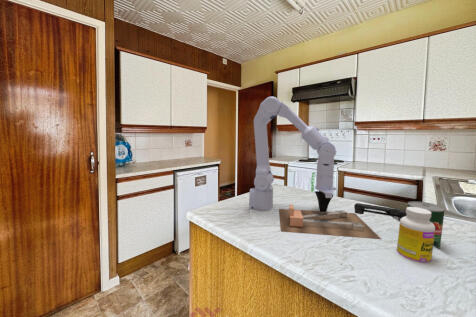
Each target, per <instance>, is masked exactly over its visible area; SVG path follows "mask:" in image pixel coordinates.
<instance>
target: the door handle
mask: <svg viewBox="0 0 476 317" xmlns="http://www.w3.org/2000/svg"><path fill="white" fill-rule="evenodd" d="M353 206H354V207H353V208H354V213H355V214H356V215H364V214H365V213H370V214H376V215H382V216H383V215H384V216H388V217H389V216H390V217H392V219H393V220H396V221H397V222H400V219H401V218H402V217H405V216H407V214H406V209H399V208H393V207H387V206H386V207H385V206H380V205H379V206H378V205H373V204H366V203H359V202H357V203H355V204H354V205H353Z"/></svg>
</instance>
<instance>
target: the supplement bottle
mask: <svg viewBox="0 0 476 317" xmlns="http://www.w3.org/2000/svg"><path fill="white" fill-rule="evenodd" d="M405 210H406V214H407V216H405V217H402V218H401V217H400V221H399V228H398V238H397V244H396V252H397V253H398V254H399V255H401V257H403V258H406V259H409V260H412V261H415V262H419V263H430V262H431V261H432V257H433V249H434V246H433V242H434V235H435V226H434V224H433V223H432V222H430V221H429V219H430V218H431V212H430V211H429V210H426V209H423V208H418V207H408V206H407V207H406V208H405Z"/></svg>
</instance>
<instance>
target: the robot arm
mask: <svg viewBox="0 0 476 317" xmlns="http://www.w3.org/2000/svg"><path fill="white" fill-rule="evenodd" d="M277 116H278V117H279V118H280V117H281V118H284V119H287V121H289V122H290V123H291V124H292V125H293V126H295V128H296V129H298V131H299V132H301V139H302V140H303V141H304V142H305V143H306V144H307V145H309V147H310V148H312V150H315V151H316V153H317V162H316V174H315V175H316V180H315V191H314V193H315V196H316V198H317V199H316V200H317V202H318V203H317V204H318V209H319V210H318V211H320V212H328V208H329V204H330V202H331V200H332V199H333V198H334V194H333V192H334V191H336V190H337V187H335V186H334V173H335V172H334V171H335V169H334V168H335V163H334V162H335V156H336V154H337V150H336V147H335V145H333V144H332V143H331V142H330V139H329V138H328V137H325V136H324V135H323V134H322V133H321V132H320V129H319V127H315V126H308V125H307V124H306V123H305V121H303V120H302V119H301V118H300V117H299V116H298V114H296V112H295V111H293V110H292V109H291V107H289V106H288V105H286V103H284V102H283V101H280V100H279V99H278V98H277V97H276V96H268V97H266V98H265V99H264V100H263V101H262V102H261V103H260V104H259V108H258V110H257V112H256V114H255V115H254V118H253V130H254V131H253V132H254V143H255V157H256V159H255V160H256V168H255V177H254V180H253V184H254V187H253V188H250V189H249V194H248V195H249V197H248V198H249V199H248V200H249V202H248V207H249V209H248V213H250V212H251V210H259V211H270V210H272V209H273V207H274V206H273V205H274V200H273V199H274V187H273V185H272V184H273V182H274V180H275V177H274V175H273V172H272V169H271V165H270V156H269V155H270V154H269V139H268V124H269V123H270V122H271V121H272V120H273V119H274V118H276V117H277Z"/></svg>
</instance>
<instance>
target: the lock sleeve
mask: <svg viewBox="0 0 476 317" xmlns="http://www.w3.org/2000/svg"><path fill="white" fill-rule="evenodd" d="M288 209H289V213H288V218H290V226H298V227H303V216H302V213H301V210H302V209H295V207H294V204H289V205H288Z"/></svg>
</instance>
